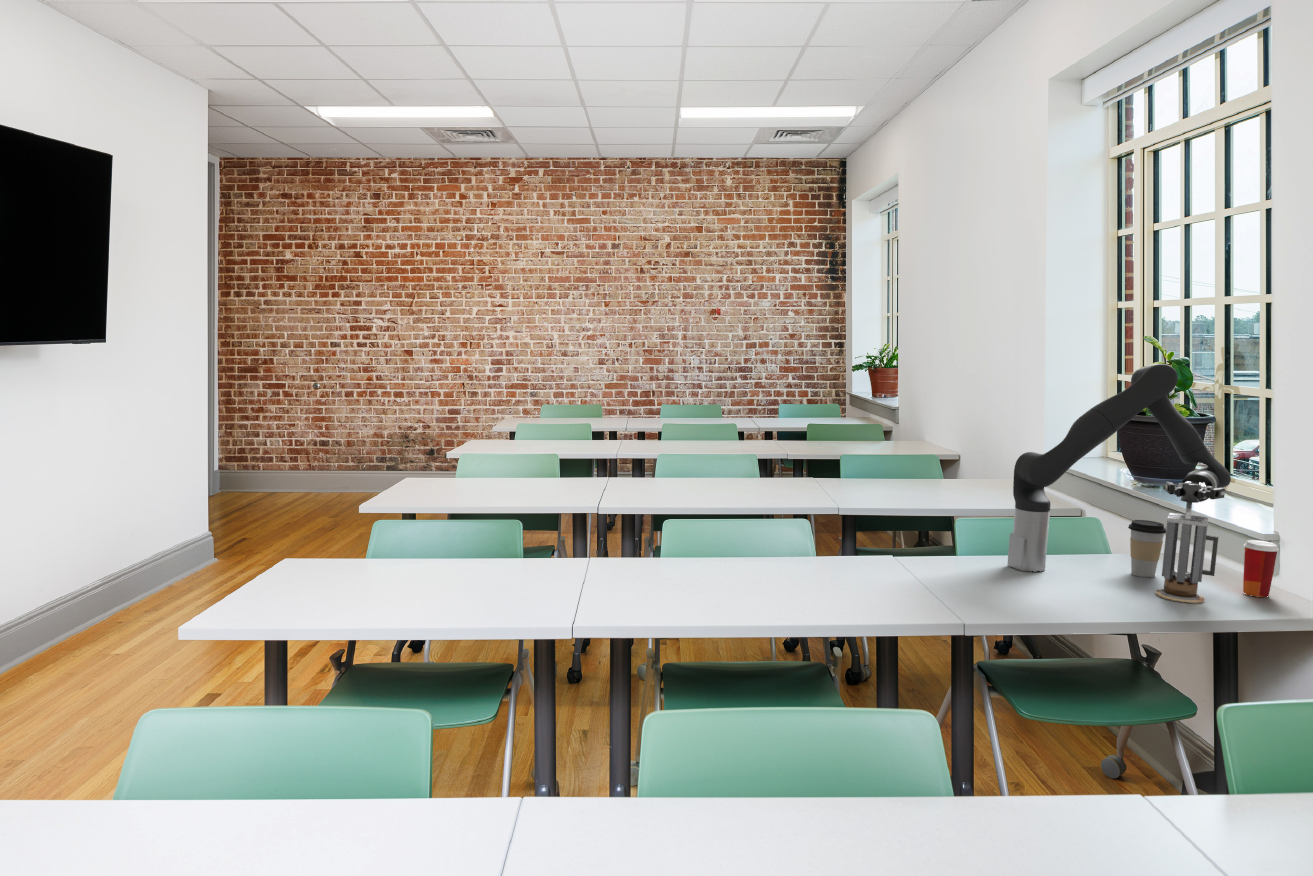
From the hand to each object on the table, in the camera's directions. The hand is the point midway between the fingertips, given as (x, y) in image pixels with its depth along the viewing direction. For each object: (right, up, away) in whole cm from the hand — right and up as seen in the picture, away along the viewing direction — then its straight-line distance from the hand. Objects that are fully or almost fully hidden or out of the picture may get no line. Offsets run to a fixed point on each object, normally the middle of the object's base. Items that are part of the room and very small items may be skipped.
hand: (1188, 494), depth 221 cm
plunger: (+1, -21, +5) cm, 22 cm away
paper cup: (+24, -27, +10) cm, 37 cm away
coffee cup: (+3, -25, +27) cm, 37 cm away
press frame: (+1, -27, +5) cm, 28 cm away
